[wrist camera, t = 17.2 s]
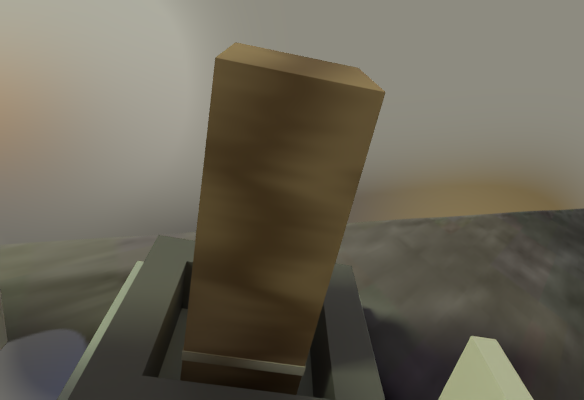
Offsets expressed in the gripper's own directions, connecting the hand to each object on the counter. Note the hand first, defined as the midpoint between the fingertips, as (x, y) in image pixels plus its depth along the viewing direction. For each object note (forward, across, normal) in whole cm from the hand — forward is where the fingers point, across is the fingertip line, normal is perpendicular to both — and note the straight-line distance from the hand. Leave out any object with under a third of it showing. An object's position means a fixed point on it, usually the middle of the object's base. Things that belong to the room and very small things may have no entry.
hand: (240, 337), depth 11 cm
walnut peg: (+9, +1, -11) cm, 14 cm away
